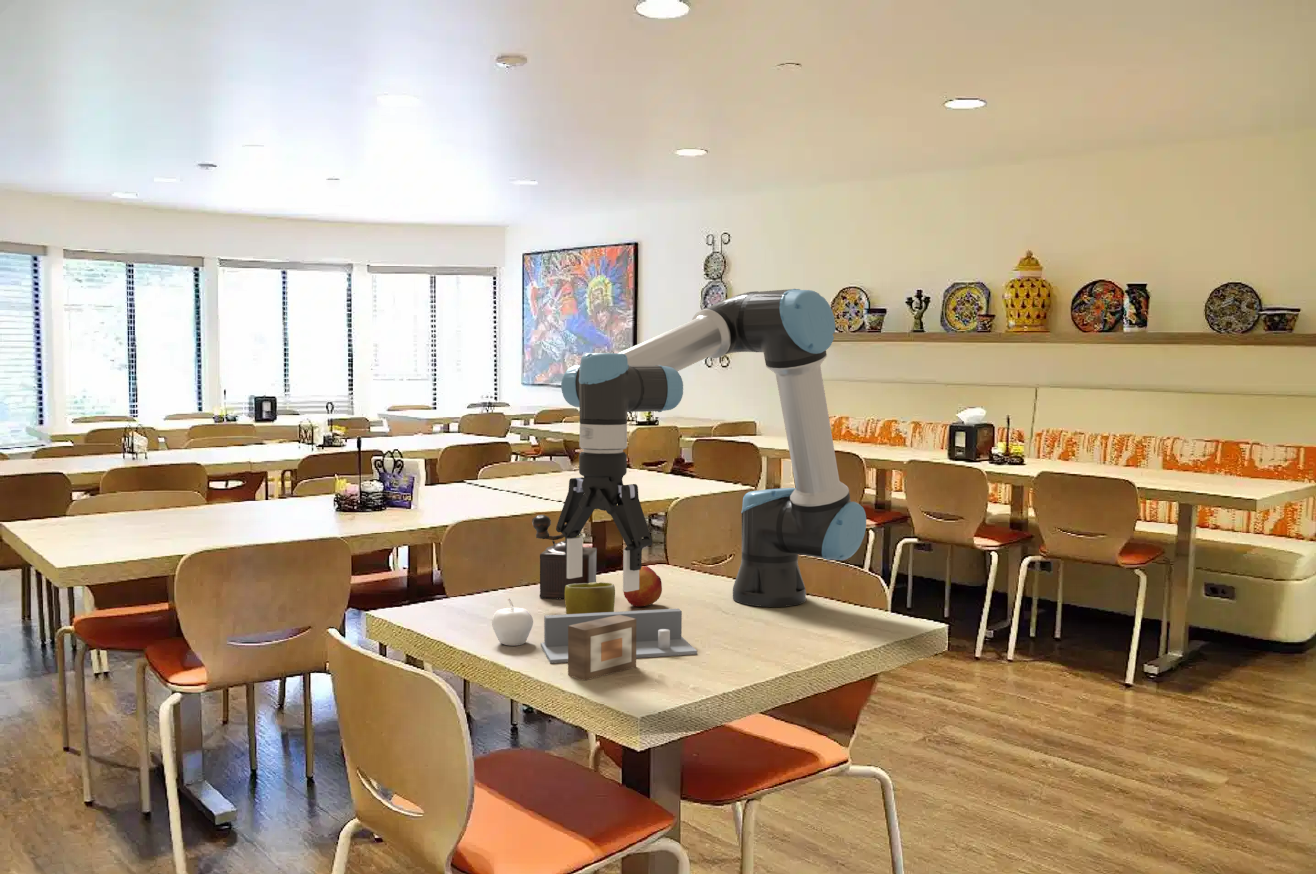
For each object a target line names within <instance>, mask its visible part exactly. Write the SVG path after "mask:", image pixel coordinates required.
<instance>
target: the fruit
mask: <svg viewBox="0 0 1316 874" xmlns="http://www.w3.org/2000/svg"><path fill="white" fill-rule="evenodd" d="M622 591H623V590H622ZM622 593H623V596H624V598H625V599H626V601H627V602H628V603H629V604H630V605H631V606H634V607H638V608H640V607H641V608H642V607H648V606H650V605H652V604H654V603H655V602H657V601H658V600H659V599H660V597H661V595H662V593H663V583H662V579H661V577H660V576H659V574H657V573H656V572H655V571H654V570H653V569H652V568H651V567H649V566H647V565H646V566H644V565H642V567H641V570H639V590H635V591H629V592H624V591H623V592H622Z"/></svg>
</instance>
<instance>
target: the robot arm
mask: <svg viewBox="0 0 1316 874" xmlns="http://www.w3.org/2000/svg"><path fill="white" fill-rule="evenodd" d="M835 333H836V321H835V316H834V313H833V309H832V307H831V306H830V304H829V302H828V301H827V299H826V298H825V297H824V296H821V294H820V293H819V292H816V291H815V290H810V289H800V288H790V289H778V290H777V289H776V290H763V291H757V290H756V291H748V292H744V293H739V294H736V295H733V296H731V297H729V298H726V299H724V300H722V301H719V302H717V303H715V304H713V305H710V306H708V307H706V308H704V309H701V310H700V311H698V312H696V313H695V314H694V315H693V317H692V320H690V321H688V322H685V323H683V324H680V325H678V326H676V327H674V328H672V329H670V330H667V331H665V332H662V333H661V334H658V335H656V336H654V337H651V338H649V339H647V340H645V341H643V342H640V343H638V344H635V345H633V346H631V347H629V348H627V349H624V350H622V351H620V352H617V353H616V352H615V353H614V352H612V353H611V352H586V353H584V354H583V355H582V356H581V357H580V364H575V365H572V366H570V367H569V368H567V370H566V371H565V372H564V374H563V376H562V379H561V382H560V383H561V384H560V386H561V387H560V388H561V393H562V397H563V398H564V400H565V401H566V403H567V404H569V406H573V407H575V408H579V443H578V444H579V445H578V447H579V448H581V449H582V451H581V452H580V453H579V455H578V473H579V475H580V476H581V477H571V478H569V481H568V492H567V493H566V494H567V495H566V498H565V500H564V503H563V505H562V506H563V507H562V509H561V511H560V515H559V517H558V520H557V523H556V526H555V530H556V532H558V533H560V534H563V536H564V537H563V538H564V539H565V540H564V541H565V554H566V556H567V578H568V579H572V578H577V577H582V546H583V544H584V543H583V537H582V535H583V534H582V531H583V529H584V527H585V525H586V524H587V523H588V521H589V519H590V517H591V516H592V514H593V513H594V511H595V510H600V511H606V513H607V514H608V515H609V516H611V518H612V521H613V522H614V524H615V526H616V527H617V530H618V531H619V533H620V535H621V537H622V540H623V541H624V543H625V547H624V548H623V551H622V552H623V553H622V554H623V558H622V559H623V560H622V565H623V566H622V568H623V569H622V570H623V572H622V573H623V574H622V575H623V576H622V591H624V592H629V591H635V590H639V570H641V567H642V566H643V564H642V562H643V561H642V560H643V557H642V552H643V549H644V548H645V547H648V546H649V547H650V546H652V544H653V538H652V536H651V533H650V530H649V526H648V524H647V521H646V516H645V515H644V510H643V507H642V505H641V502H640V499H639V486H638V485H637V484H636V483H633V484H624V482H623V478H624V476H626V475H627V470H628V467H627V466H628V464H627V461H628V460H627V459H628V454H627V453H626V452H624V450H626V449H627V448H628V413H632V412H634V413H635V412H636V413H637V412H638V413H639V412H640V413H644V412H645V413H647V412H656V413H657V412H658V413H661V412H663V411H665V412H666V411H671V410H673V409H675V408H676V407H678V405H679V404H680V403H681V401H682V399H683V395H684V381H683V378H682V376H681V375H680V373H679V372H680V371H682V370H683V369H685V368H687V367H690V366H692V365H695V364H696V363H698V362H700V361H701V362H702V360H704V359H707V358H711V359H717V358H722V357H723V356H725V355H728V354H733V353H763V357H764V358H763V359H764V363H765V367H766V368H767V369H769V370H770V371H772V372H773V373H774V374H775V380H776V384H777V390H778V395H779V402H780V407H781V411H782V418H783V423H784V428H785V429H784V430H785V432H786V433H785V434H786V441H787V446H788V451H789V456H790V458H789V459H790V463H791V467H792V468H791V469H792V474H793V479H794V485H795V487H783V488H769V489H760V490H753V491H748V492H746V493H745V494H744V495H743V498H742V504H741V505H742V506H741V507H742V508H741V511H740V513H741V561H740V562H741V563H740V565H739V569H738V571H737V575H736V576H735V580H734V582H733V583H734V584H733V586H732V600H734V601H735V602H737V603H740V604H743V605H747V606H755V607H768V608H771V607H772V608H776V607H777V608H778V607H779V608H781V607H782V608H783V607H792V606H797V605H801V604H804V603H805V602H806V601H807V590H806V585H805V583H804V579H803V577H802V574H801V573H802V572H801V570H800V566H799V562H798V561H799V556H800V555H801V556H806V557H813V558H819V559H824V560H827V561H831V560H836V561H844V560H848V559H850V558H851V557H852V556H854V554H855V553H857V551H858V550H859V548H860V547H861V545H862V543H863V541H864V537H865V534H866V530H867V514H866V511H865V508H864V507H863V506H861V505H862V504H860V503H858V502H856V501H852V499H851V496H850V495H851V494H850V488H849V487H848V485H846V484H845V483H843V482H842V481H840V475H839V471H838V465H837V457H836V453H835V446H834V440H833V435H832V427H831V422H830V416H829V411H828V410H829V409H828V403H827V398H826V393H825V391H826V390H825V387H824V386H825V385H824V379H823V374H822V368H821V365H822V364H823V362H824V361H825V359H826V358H827V357H828V354H827V350H828V349H829V348H830V347H831V345H832V343H833V342H834V340H835V339H834V338H835V337H834V334H835ZM624 592H623V593H624Z"/></svg>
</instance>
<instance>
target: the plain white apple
mask: <svg viewBox="0 0 1316 874" xmlns="http://www.w3.org/2000/svg"><path fill="white" fill-rule="evenodd" d="M507 601H508V603H509V605H510V607H504V608H500V609H498V610H495V612H494V614H493V616H492V620H491V626H492V630H493V632H494V633H495V635H496V638H497V640H498V642H499V643H500V644H501V645H504V646H513V647H514V646H515V647H516V646H522V645H524V644H525V643H526V641H527V640H528V638H529V635H530V633H531V631H532V628H533V624H534V619H533V615H532V614H531V613H530V612H529V610H528V609H526V608H525V607H524V608H523V607H515V606H514V603H513V602H512V601H511V598H507Z"/></svg>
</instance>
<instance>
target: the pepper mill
mask: <svg viewBox="0 0 1316 874" xmlns="http://www.w3.org/2000/svg"><path fill="white" fill-rule="evenodd" d="M531 523H532V526H533V528H534V529H535V531H536V534H535V536H536V539H542V540H551V541H552V545H550V546H548V547H546V548H545V550H544V551H543V552H541V553H540V554H539V598H540V599H541V598H542V599H548V600H564V601H565V586H566V585H569V584H582V583H587V584H588V583H593V582H597V550H598V549H597V547H589V546H587V547H584V546H583V545H582V577H577V578H572V579H568V578H567V556H566V554H565V540H562V541H560V542H559V541H558V540H561V539H563V538H565V537H564V536H563V534H562V533H560V534H558V535H550V532H549V527H550V526H551V524H552V520H551V518H550V517H549V516H547V515H545V514H538V515H536V516H535V517H533V518H532V521H531ZM555 541H558V542H555Z"/></svg>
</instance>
